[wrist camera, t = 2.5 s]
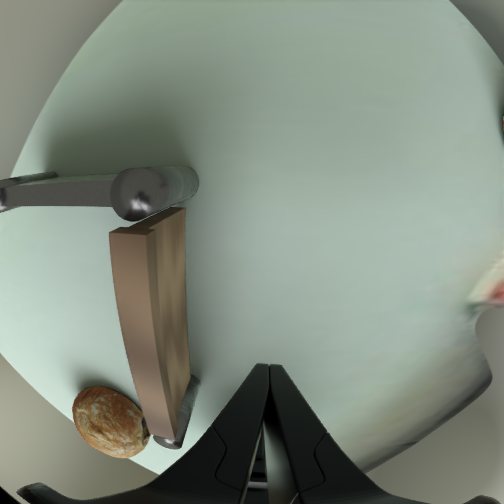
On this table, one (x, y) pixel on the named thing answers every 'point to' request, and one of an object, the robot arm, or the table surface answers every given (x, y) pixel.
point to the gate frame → (126, 206)
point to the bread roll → (110, 422)
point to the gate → (154, 313)
